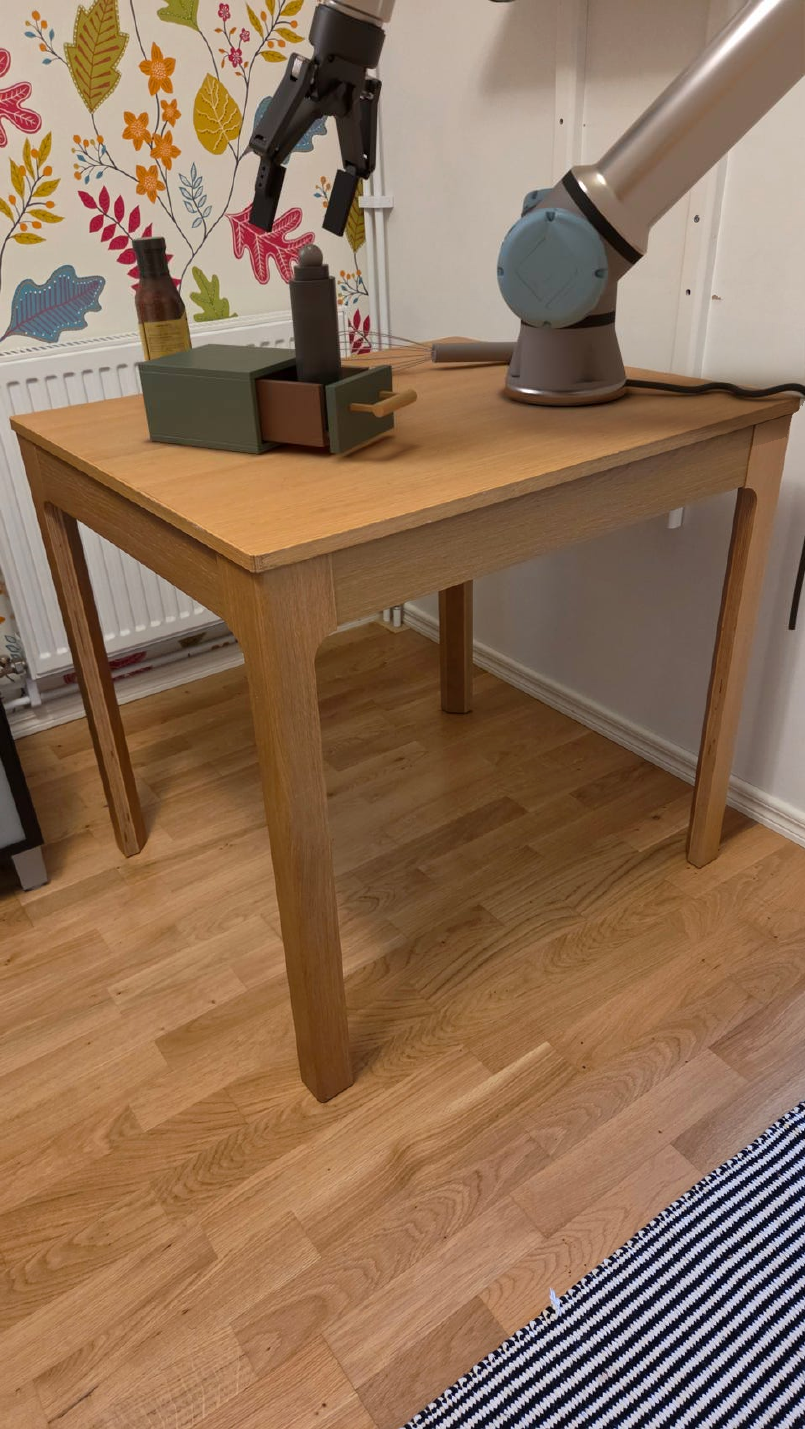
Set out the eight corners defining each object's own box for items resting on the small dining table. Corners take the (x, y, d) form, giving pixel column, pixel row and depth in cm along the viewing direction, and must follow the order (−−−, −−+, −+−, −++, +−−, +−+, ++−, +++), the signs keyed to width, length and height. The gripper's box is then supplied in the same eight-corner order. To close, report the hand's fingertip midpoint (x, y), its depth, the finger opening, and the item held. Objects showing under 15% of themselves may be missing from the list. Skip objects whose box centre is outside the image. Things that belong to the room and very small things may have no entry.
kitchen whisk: (550, 363, 144) (552, 316, 141) (322, 386, 137) (318, 338, 134) (535, 356, 149) (536, 311, 146) (315, 377, 143) (311, 331, 139)
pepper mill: (353, 422, 110) (342, 241, 101) (330, 433, 106) (315, 246, 97) (317, 419, 112) (303, 241, 103) (293, 429, 108) (276, 246, 99)
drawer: (428, 431, 109) (426, 367, 106) (375, 458, 101) (371, 390, 98) (289, 417, 118) (283, 357, 114) (229, 441, 109) (221, 377, 106)
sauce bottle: (210, 401, 131) (187, 235, 121) (171, 411, 127) (145, 240, 117) (180, 395, 135) (155, 234, 125) (141, 404, 131) (113, 239, 121)
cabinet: (322, 426, 117) (316, 350, 112) (258, 454, 107) (249, 372, 103) (218, 416, 124) (209, 343, 119) (150, 441, 114) (137, 363, 110)
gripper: (389, 26, 112) (335, 222, 123) (246, -28, 92) (198, 211, 104) (442, 49, 109) (382, 246, 121) (307, -2, 90) (251, 239, 102)
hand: (297, 230), depth 113 cm, fingers open, 13 cm apart
